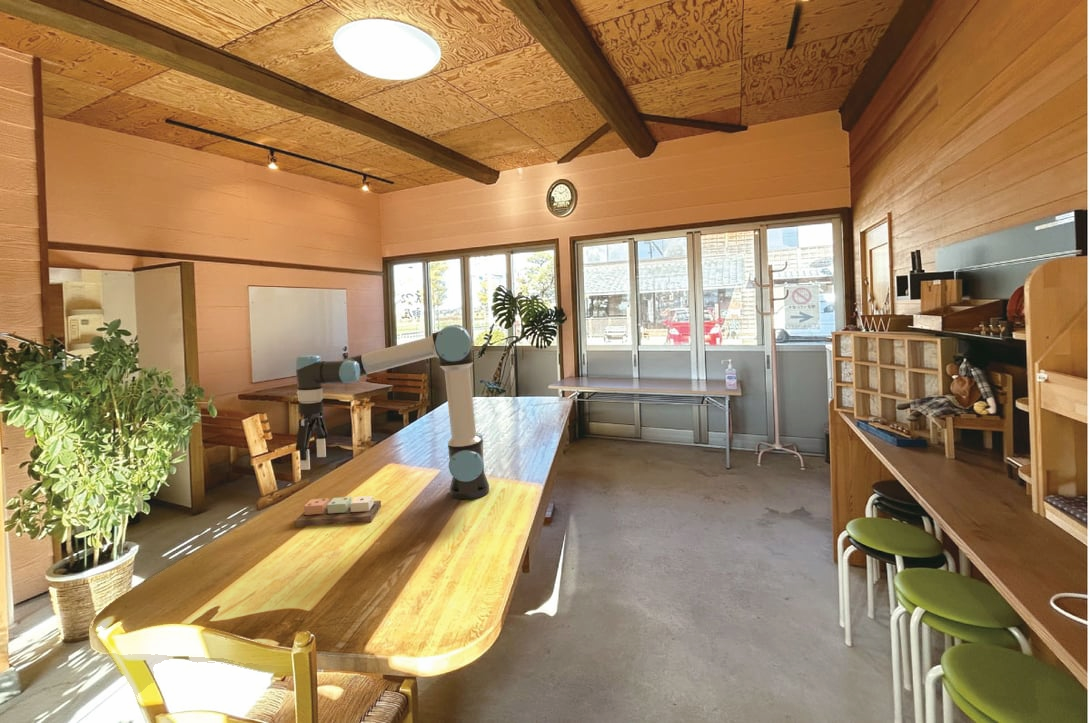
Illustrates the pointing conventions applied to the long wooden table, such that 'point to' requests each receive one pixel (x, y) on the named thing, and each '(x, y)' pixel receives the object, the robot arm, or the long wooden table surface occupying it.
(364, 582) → the long wooden table surface
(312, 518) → the brown wooden tray
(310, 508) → the button three terracotta
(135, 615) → the long wooden table surface
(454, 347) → the robot arm
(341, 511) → the button two sage
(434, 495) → the long wooden table surface
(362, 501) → the button one cream
